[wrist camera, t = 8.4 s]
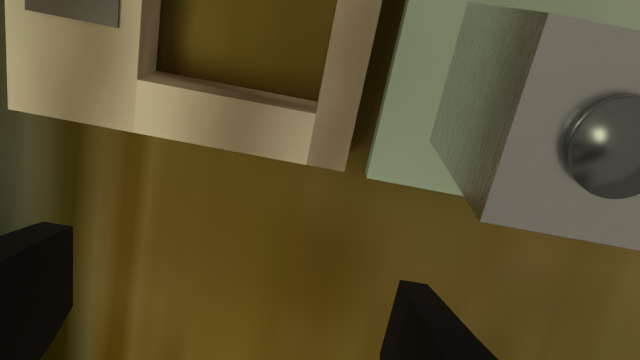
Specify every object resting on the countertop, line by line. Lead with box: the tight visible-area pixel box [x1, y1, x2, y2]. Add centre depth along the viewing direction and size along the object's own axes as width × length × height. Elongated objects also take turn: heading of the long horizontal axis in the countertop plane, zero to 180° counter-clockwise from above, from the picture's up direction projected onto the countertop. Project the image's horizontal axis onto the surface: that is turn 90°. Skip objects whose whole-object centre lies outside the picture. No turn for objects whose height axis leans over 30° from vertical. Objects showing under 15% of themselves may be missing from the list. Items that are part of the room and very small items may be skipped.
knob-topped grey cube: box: [430, 2, 640, 251], centre depth 15 cm, size 5×5×7 cm
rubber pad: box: [365, 0, 640, 196], centre depth 19 cm, size 9×9×1 cm
